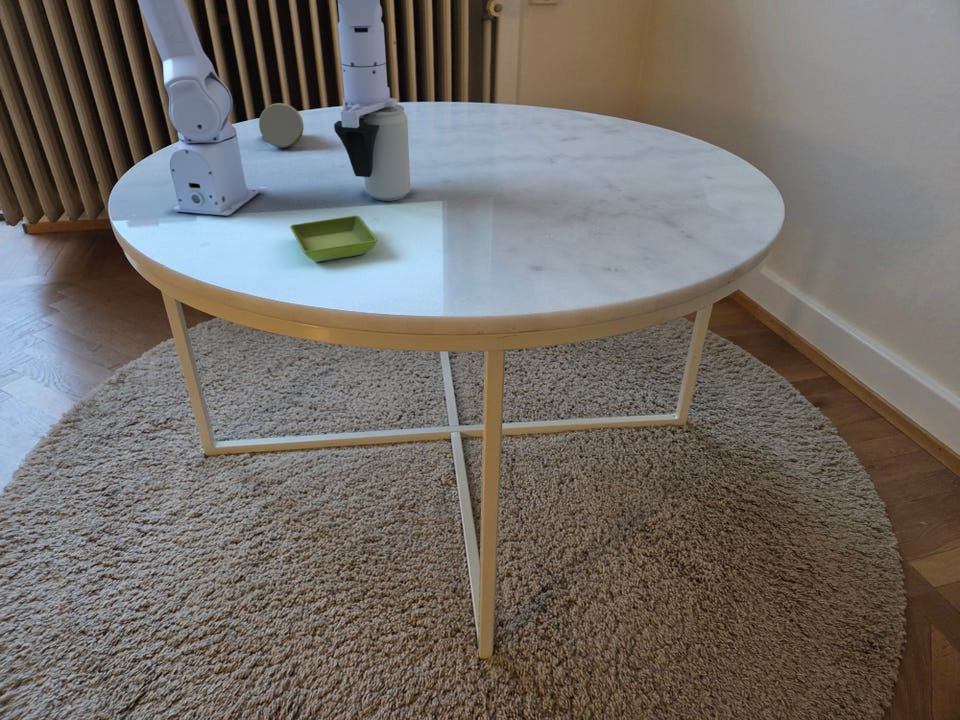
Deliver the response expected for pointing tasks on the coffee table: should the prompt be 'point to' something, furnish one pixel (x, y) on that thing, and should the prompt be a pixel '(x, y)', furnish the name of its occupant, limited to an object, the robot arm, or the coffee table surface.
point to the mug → (281, 125)
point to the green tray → (334, 238)
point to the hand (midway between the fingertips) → (371, 167)
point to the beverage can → (389, 155)
